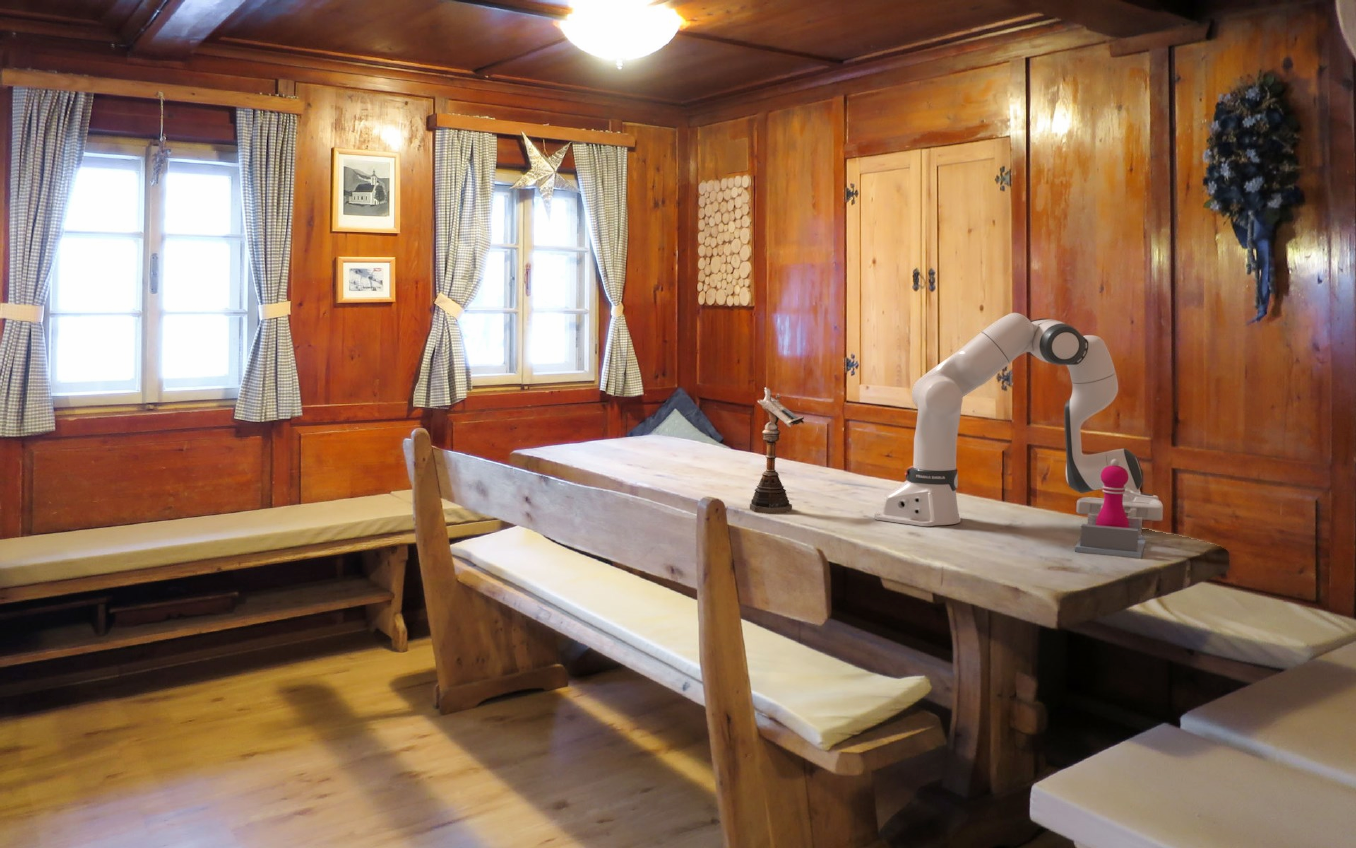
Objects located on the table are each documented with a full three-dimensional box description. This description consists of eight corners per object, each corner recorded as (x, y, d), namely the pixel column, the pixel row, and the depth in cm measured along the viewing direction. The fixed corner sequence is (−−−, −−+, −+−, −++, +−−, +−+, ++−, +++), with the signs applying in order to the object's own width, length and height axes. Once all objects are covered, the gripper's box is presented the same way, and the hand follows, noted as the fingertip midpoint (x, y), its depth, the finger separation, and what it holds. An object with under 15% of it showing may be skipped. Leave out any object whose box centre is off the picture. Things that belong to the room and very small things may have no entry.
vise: (1074, 551, 236) (1076, 526, 236) (1084, 535, 253) (1085, 512, 253) (1141, 558, 230) (1142, 532, 229) (1145, 541, 247) (1147, 517, 246)
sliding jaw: (1087, 534, 249) (1087, 514, 249) (1088, 532, 251) (1088, 513, 251) (1140, 539, 244) (1141, 519, 243) (1141, 537, 246) (1142, 517, 245)
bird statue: (815, 508, 289) (817, 385, 285) (798, 516, 277) (800, 388, 274) (762, 503, 297) (763, 383, 293) (743, 511, 285) (744, 386, 282)
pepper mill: (1096, 545, 237) (1100, 460, 235) (1093, 538, 244) (1096, 456, 242) (1130, 547, 235) (1134, 461, 233) (1125, 540, 242) (1129, 457, 240)
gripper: (1079, 489, 269) (1073, 498, 257) (1164, 496, 260) (1162, 505, 248) (1078, 513, 270) (1072, 522, 258) (1163, 520, 261) (1161, 530, 248)
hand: (1117, 514), depth 253 cm, fingers open, 3 cm apart
